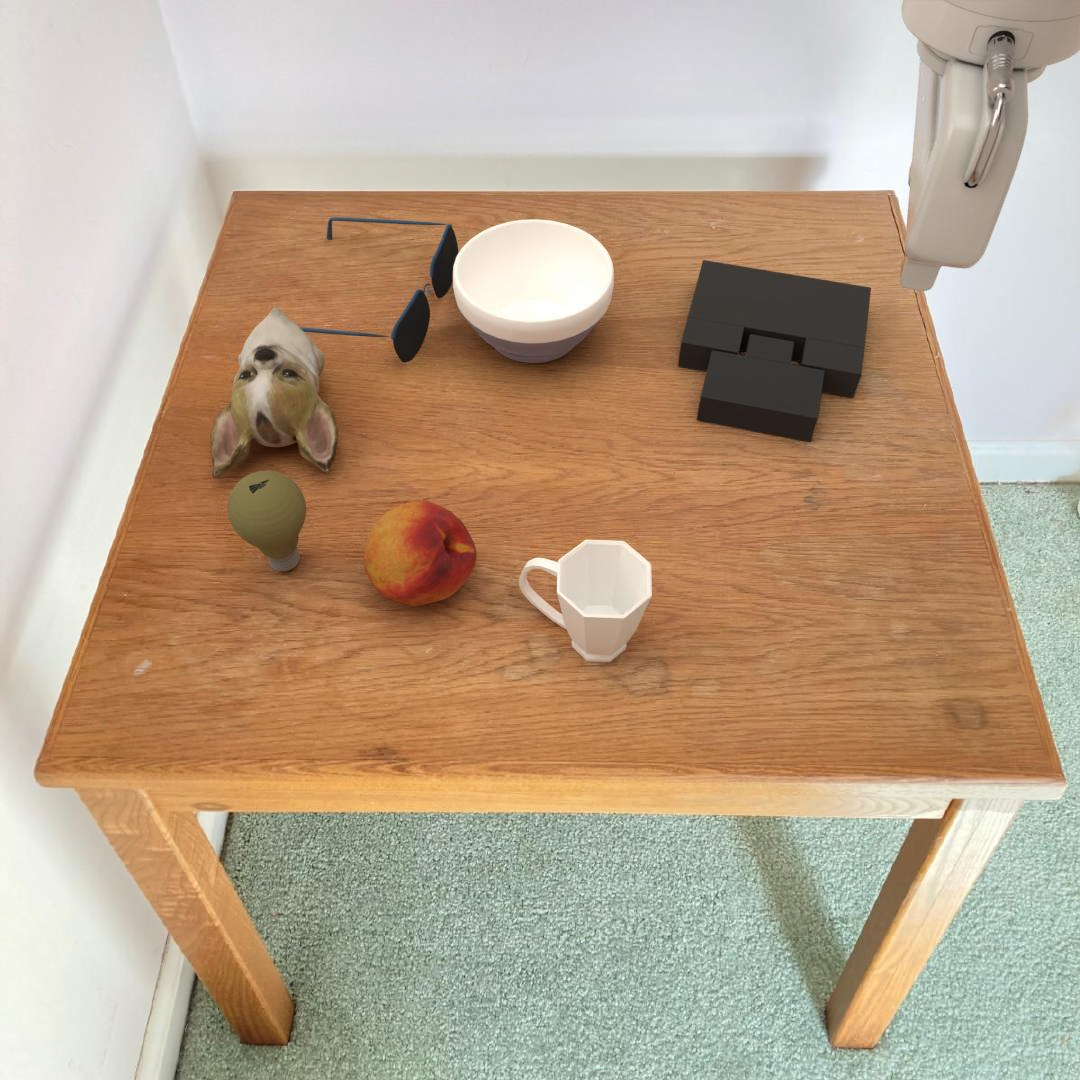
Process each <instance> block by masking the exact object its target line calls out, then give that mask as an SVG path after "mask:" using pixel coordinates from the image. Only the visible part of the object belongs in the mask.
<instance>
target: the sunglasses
mask: <svg viewBox="0 0 1080 1080" xmlns="http://www.w3.org/2000/svg"><path fill="white" fill-rule="evenodd" d="M333 222H351V223H353V222H354V223H372V224H390V225H391V224H392V225H415V226H445V228H444V231H443V234H442V237H441V239H440V241H439V244H438V246H437V249H436V251H435V253H434V255H433V257H432V259H431V262H430V267H429V278H431V284H430V283H425V284H424V286H423V289H419V288H418V289H416V291H415V292H414V293H413V296H412V297H411V299H410V300H409V302H408V304H407V305H406V307H405V309H403V311H402V313H401V314H400V315H399V318H398V319H397V320H396V322H395V324H394V326H393V328H392V331H391V335H390V336H389V335H383V334H377V333H376V334H375V333H368V332H359V331H350V330H338V329H325V328H315V327H314V328H312V327H304V326H303V327H301V326H299V327H300V329H302V330H303V331H304V332H305V333H313V334H314V333H315V334H326V335H327V334H328V335H339V336H341V335H342V336H353V337H354V336H355V337H356V336H357V337H369V338H390V339H391V340H392V344H393V347H394V348H393V349H394V351H395V354H396V355H397V357H398V359H399V360H400V362H401V363H403V364H405V363H406V364H407V363H409V362H411V361H412V360H413V359H414V358H415V357H416V356H417V354H418V353H419V351H420V350H421V348H422V347H423V344H424V341H425V339H426V336H427V333H428V330H429V326H430V322H431V321H430V320H431V308H430V302H429V300H428V297H427V295H426V292H427V294H428V295H429V296H431V297H434V296H436V298H438V299H442V298H443V297H444V296H446V295H447V293H449V290H450V289H451V287H452V286H453V266H454V263H455V260H456V256H457V255H458V253H459V244H458V239H457V235H456V232H455V231H454V228H453V224H452V223H448V224H447V223H442V222H433V221H419V220H417V221H416V220H402V219H401V220H399V219H387V218H386V219H384V218H365V217H341V216H340V217H337V216H335V217H332V216H331V217H330V218H329V219H328V221H327V230H326V239H327V240H333ZM427 286H432V289H431V288H429V287H427Z"/></svg>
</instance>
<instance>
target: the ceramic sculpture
mask: <svg viewBox="0 0 1080 1080" xmlns="http://www.w3.org/2000/svg"><path fill="white" fill-rule="evenodd" d="M300 327H301V326H299V325H298V324H297V323H296V322H295V321H293V320H292V319H291V318H290V317H288V315H286V314H285V313H284V311H283V310H282V309H280V308H279V307H277V306H274V307H273V308H272V309H271V310H270V312H269V314H268V315H267V316H265V318H264V319H262V320H261V321H260V322H259V323H258V324H257V325H256V326H255V327H254V328H253V330H252V331H251V333H250V334H249V335H248V337H247V338H246V339H245V342H244V344H243V347H242V350H241V352H240V353H239V355H238V358H237V359H238V366H239V368H238V370H237V372H236V374H235V376H234V377H233V379H232V380H233V381H232V387H231V393H230V401H229V403H228V405H226V406H225V407H224V408H223V409H222V410H221V411H219V413H218V414H217V415H216V417H215V418H214V421H213V422H214V423H213V427H212V429H211V431H210V436H209V437H210V444H211V447H210V450H211V462H212V472H211V474H212V477H213V478H220V477H221V476H223V475H225V474H226V473H228V472H230V471H231V470H232V471H233V470H234V469H235V468H236V467H238V466H240V465H241V464H243V463H244V462H245V461H247V459H248V458H249V457H250V454H251V445H252V444H251V441H252V439H253V440H254V441H256V442H257V443H258V444H259V445H262V446H264V447H270V448H283V447H287V446H290V445H293V444H296V443H297V447H298V451H299V453H300V455H301V457H302V458H303V459H305V460H306V461H308V462H309V463H311V464H312V465H314V466H315V467H317V468H318V469H319V470H321V471H322V472H323V473H325V474H326V473H329V471H330V469H331V467H332V464H333V462H334V460H335V459H336V454H337V447H338V440H339V439H338V436H339V435H338V434H339V430H338V426H337V423H336V414H335V412H333V410H332V409H331V408H330V406H329V405H328V404H326V403H325V402H324V401H323V400H322V399H321V397H320V396H319V392H320V385H319V380H320V377H321V375H322V373H323V371H324V369H325V362H326V359H325V355H324V352H323V351H322V350H321V349H320V348H319V347H318V346H317V345H316V344H315V342H314V341H313V339H312V338H311V337H310V336H309V335H308V334H307V332H304V331H303V330H302V329H300Z"/></svg>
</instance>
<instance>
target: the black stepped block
mask: <svg viewBox="0 0 1080 1080" xmlns="http://www.w3.org/2000/svg"><path fill="white" fill-rule="evenodd" d="M793 347H794V342H792V341H787V340H781V339H775V338H770V337H764V336H758V335H753V334H750V337H749V341H748V346H747V350H746V352H745V355H741V354H739V355H736V354H730V353H725V352H719V351H713V350H712V352H711V356H710V360H709V364H708V368H707V372H706V373H705V377H704V382H703V385H702V390H701V393H700V398H699V403H698V410H697V416H696V421H698V422H703V423H709V424H713V425H719V426H722V427H723V426H724V427H728V428H729V427H730V428H735V429H739V430H745V431H750V432H755V433H761V434H766V435H771V436H775V437H782V438H786V439H792V440H796V441H797V440H798V441H802V442H808V443H811V441H812V438H813V436H814V433H815V430H816V425H817V423H818V420H819V413H820V408H821V400H822V394H823V393H822V386H823V379H824V372H825V371H824V370H819V369H814V368H808V367H803V366H799V365H797V364H792V360H791V359H792V353H793Z"/></svg>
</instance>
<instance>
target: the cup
mask: <svg viewBox="0 0 1080 1080" xmlns="http://www.w3.org/2000/svg"><path fill="white" fill-rule="evenodd" d="M534 569H537V570H542V571H544V572H546V573H548V574H550V575H552V576H554V577H556V578H557V579H556V595H557V600H558V604H559V606H560V611H561V612H559V611H558V610H556V609H555V608H554V607H553V606H552V605H551V604H550V603H549V602H547V601H546V600H545V599H543V598H542V597H541V596H540V595H539V594H538V593H537V592H536V591H535V590H534V589H533V588H532V587H531V585H530V583H529V580H528V578H527V577H528V572H529V571H532V570H534ZM652 580H653V579H652V563H651V562H650V561H649V560H647V559H646V558H645V557H644V556H642V554H640V553H639V552H638V551H636V549H635V548H633V547H632V546H631V545H629V544H628V543H627V542H626V541H624V540H613V539H610V540H609V539H608V540H607V539H584V540H583V541H582V542H581V543H579V544H578V545H577V546H575V547H573V549H571V550H570V551H568V552H567V553H566V554H565V555H563V556H562V557H560V558H559V559H558V560H557V561H556V560H555V561H554V560H552V559H548V558H545V557H535V558H532V559H529V560H527V561H526V564H525V565H524V566H523V568H522V570H521V573H520V574H519V577H518V586H519V589H520V591H521V593H522V595H523V596H524V597H525V598H526V599H527V601H529V603H530V604H532V605H533V606H534V607H535V608H536V609H537V610H539V612H541V613H542V614H543V615H545V616H546V617H547V618H548V619H549V620H551V621H552V622H553V623H555V624H557V625H558V626H559V627H561V628H562V629H565V630H566V631H567V634H568V636H569V638H570V640H571V648H573V649H574V650H575V652H577V653H578V654H579V655H580V656H581V657H582V658H583V659H584V660H585V661H586V662H600V663H611V662H612V661H613V660H615V659H616V658H617V657H618V656H619V655H621V654H622V653H623V652H624V651H626V650H627V643H628V642H629V641H630V639H631V638H632V637H633V636H634V635H635V632H636V631H637V630H638V629H639V625H640V623H641V621H642V619H643V616H644V614H645V612H646V610H647V608H648V605H649V603H650V601H651V599H652V596H653V591H652V590H653V589H652V588H653V586H652V582H653V581H652Z"/></svg>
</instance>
